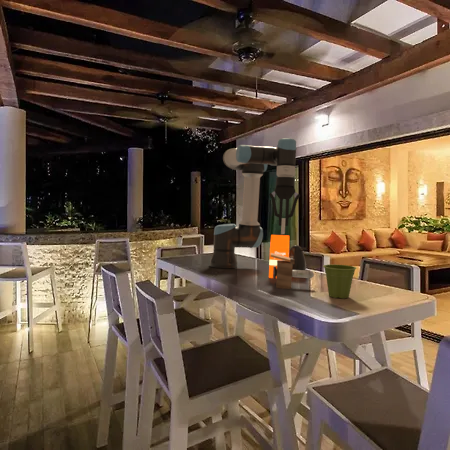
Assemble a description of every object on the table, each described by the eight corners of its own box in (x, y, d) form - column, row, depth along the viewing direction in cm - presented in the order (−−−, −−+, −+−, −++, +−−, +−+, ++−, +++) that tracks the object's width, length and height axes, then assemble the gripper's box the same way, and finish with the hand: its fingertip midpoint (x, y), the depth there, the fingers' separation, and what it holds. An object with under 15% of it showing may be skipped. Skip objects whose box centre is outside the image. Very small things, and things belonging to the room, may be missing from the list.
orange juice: (287, 279, 166) (289, 236, 165) (268, 277, 168) (270, 235, 167) (288, 276, 174) (289, 235, 173) (269, 275, 175) (271, 234, 175)
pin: (273, 277, 153) (273, 265, 152) (313, 279, 150) (313, 267, 150) (272, 279, 148) (273, 267, 147) (314, 282, 145) (314, 269, 145)
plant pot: (329, 291, 142) (330, 263, 142) (359, 296, 135) (361, 266, 134) (316, 296, 133) (317, 266, 133) (348, 302, 126) (349, 270, 125)
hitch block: (276, 283, 155) (277, 255, 155) (292, 284, 154) (293, 256, 154) (276, 288, 145) (277, 258, 144) (293, 289, 144) (294, 259, 143)
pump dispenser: (300, 279, 167) (301, 246, 167) (280, 276, 173) (281, 244, 173) (309, 276, 175) (310, 245, 175) (290, 273, 182) (291, 243, 181)
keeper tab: (270, 254, 154) (271, 252, 154) (292, 260, 153) (293, 258, 153) (270, 257, 146) (270, 254, 146) (293, 263, 145) (294, 260, 145)
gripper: (269, 175, 145) (266, 233, 147) (302, 176, 143) (299, 235, 145) (269, 177, 153) (267, 232, 154) (301, 178, 151) (298, 233, 152)
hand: (282, 233), depth 149 cm, fingers closed
